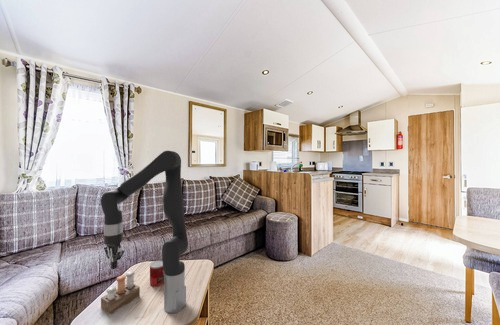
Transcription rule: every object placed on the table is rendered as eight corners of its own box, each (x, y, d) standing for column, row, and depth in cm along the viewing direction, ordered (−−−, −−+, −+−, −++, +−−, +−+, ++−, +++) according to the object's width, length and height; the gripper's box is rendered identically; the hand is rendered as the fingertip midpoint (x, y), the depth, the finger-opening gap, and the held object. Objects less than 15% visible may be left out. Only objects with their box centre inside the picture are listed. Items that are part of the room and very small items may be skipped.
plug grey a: (117, 305, 97) (117, 287, 97) (109, 310, 94) (109, 292, 94) (113, 302, 99) (113, 285, 99) (104, 307, 96) (104, 289, 96)
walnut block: (139, 296, 105) (139, 286, 105) (110, 314, 93) (110, 303, 92) (130, 291, 109) (130, 282, 109) (101, 308, 96) (101, 297, 96)
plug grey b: (136, 289, 105) (136, 272, 105) (128, 293, 102) (128, 275, 102) (131, 286, 107) (131, 270, 107) (124, 290, 104) (124, 273, 104)
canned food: (159, 287, 112) (159, 268, 112) (146, 285, 113) (146, 266, 113) (167, 279, 119) (167, 261, 119) (155, 278, 121) (155, 259, 121)
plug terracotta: (127, 294, 101) (127, 276, 101) (119, 298, 98) (119, 280, 98) (122, 291, 103) (122, 274, 103) (114, 296, 100) (114, 278, 100)
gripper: (129, 232, 97) (130, 268, 97) (114, 227, 103) (114, 261, 103) (113, 237, 90) (113, 276, 91) (97, 232, 96) (97, 268, 97)
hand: (113, 268), depth 97 cm, fingers closed
